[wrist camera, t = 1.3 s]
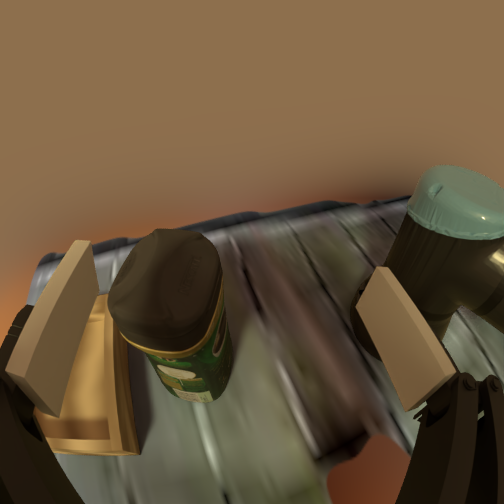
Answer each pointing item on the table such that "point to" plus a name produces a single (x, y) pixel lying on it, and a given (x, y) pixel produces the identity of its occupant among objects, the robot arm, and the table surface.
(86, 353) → the pine crate
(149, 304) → the coffee jar
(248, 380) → the table surface
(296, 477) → the table surface
